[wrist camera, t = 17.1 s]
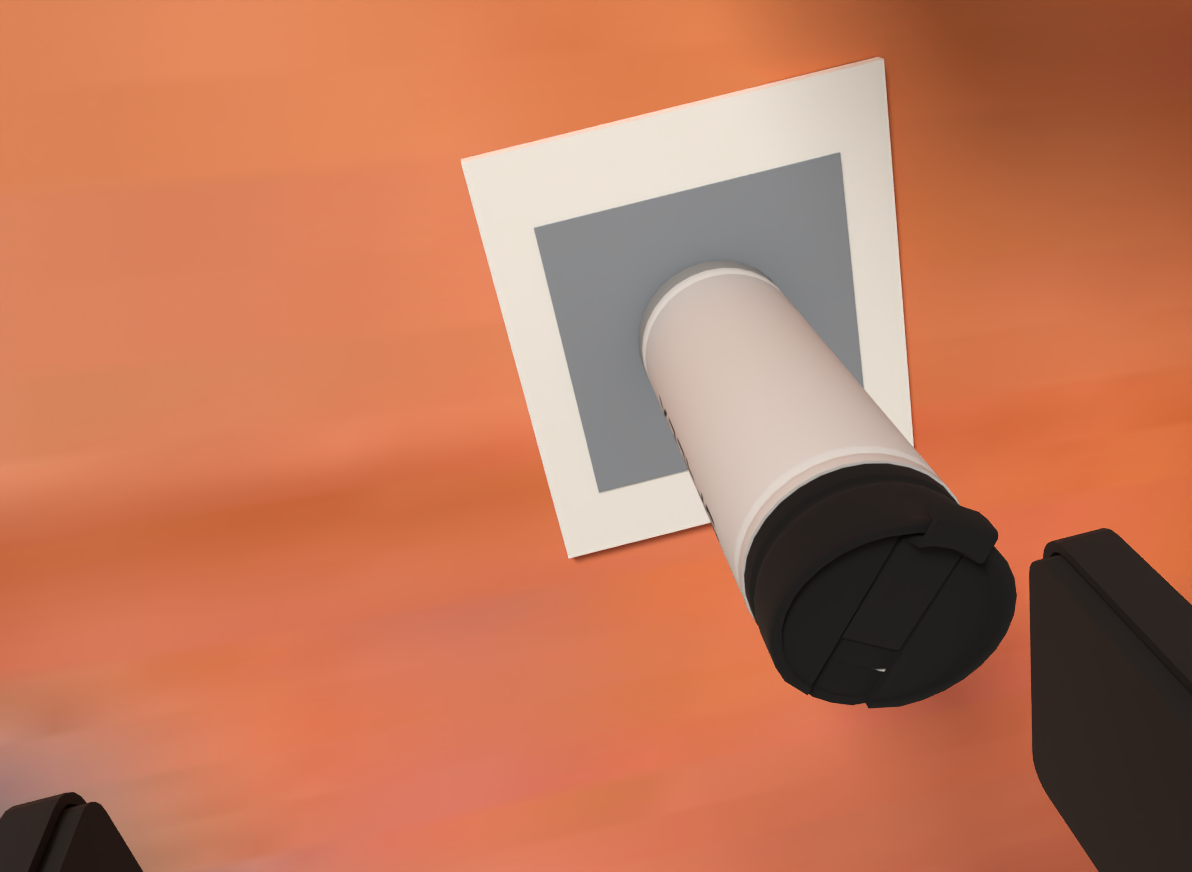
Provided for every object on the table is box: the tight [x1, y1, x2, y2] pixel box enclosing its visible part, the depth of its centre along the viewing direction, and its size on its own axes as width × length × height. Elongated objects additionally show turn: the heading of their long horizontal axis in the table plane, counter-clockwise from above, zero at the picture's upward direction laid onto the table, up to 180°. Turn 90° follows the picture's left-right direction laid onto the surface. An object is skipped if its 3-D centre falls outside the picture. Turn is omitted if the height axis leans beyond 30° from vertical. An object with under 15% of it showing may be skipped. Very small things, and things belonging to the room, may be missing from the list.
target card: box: [461, 57, 914, 558], centre depth 44 cm, size 18×16×1 cm
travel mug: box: [638, 260, 1017, 708], centre depth 34 cm, size 6×7×20 cm
